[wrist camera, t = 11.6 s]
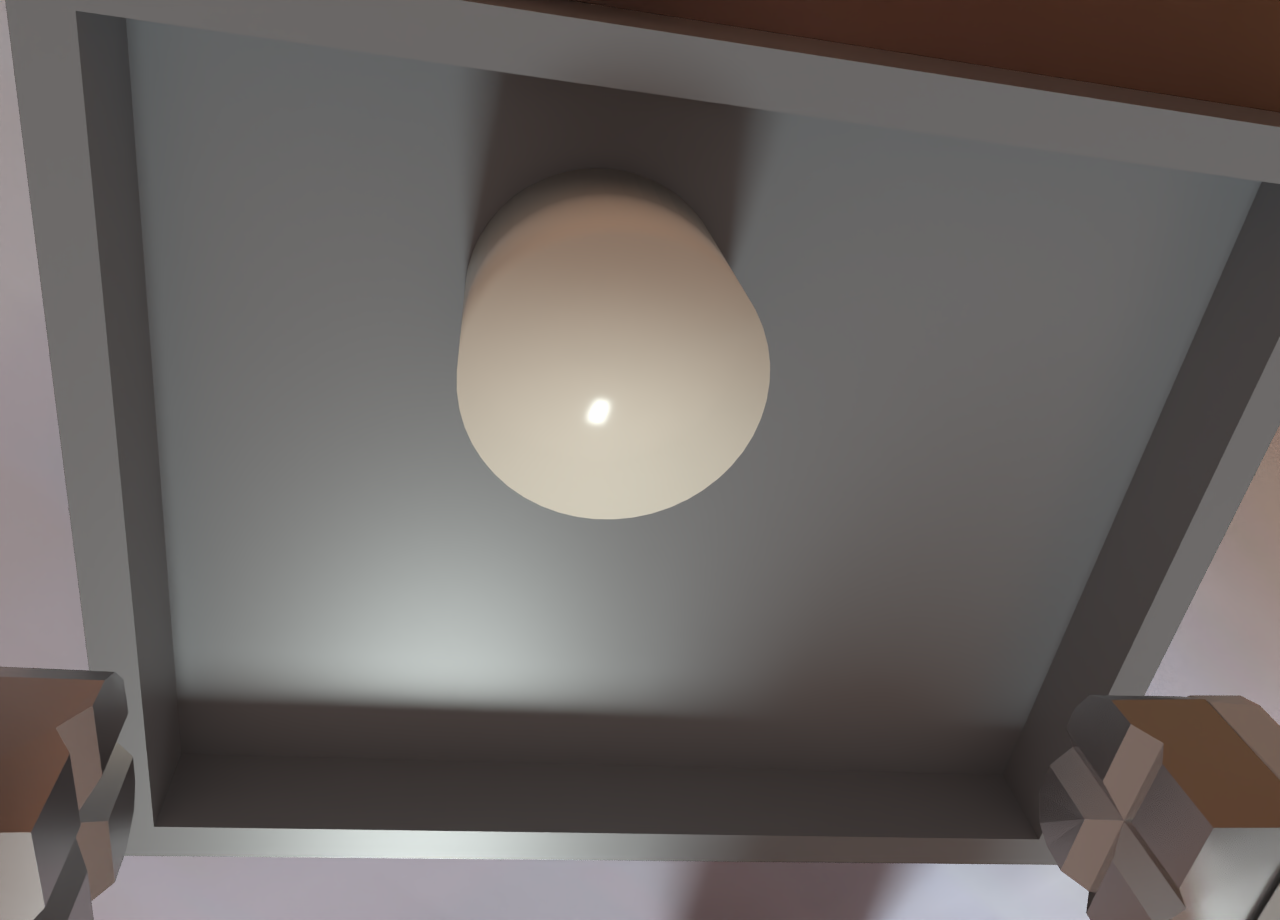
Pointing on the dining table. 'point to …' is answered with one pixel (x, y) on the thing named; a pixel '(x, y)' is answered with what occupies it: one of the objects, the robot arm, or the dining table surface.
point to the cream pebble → (607, 348)
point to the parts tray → (665, 540)
